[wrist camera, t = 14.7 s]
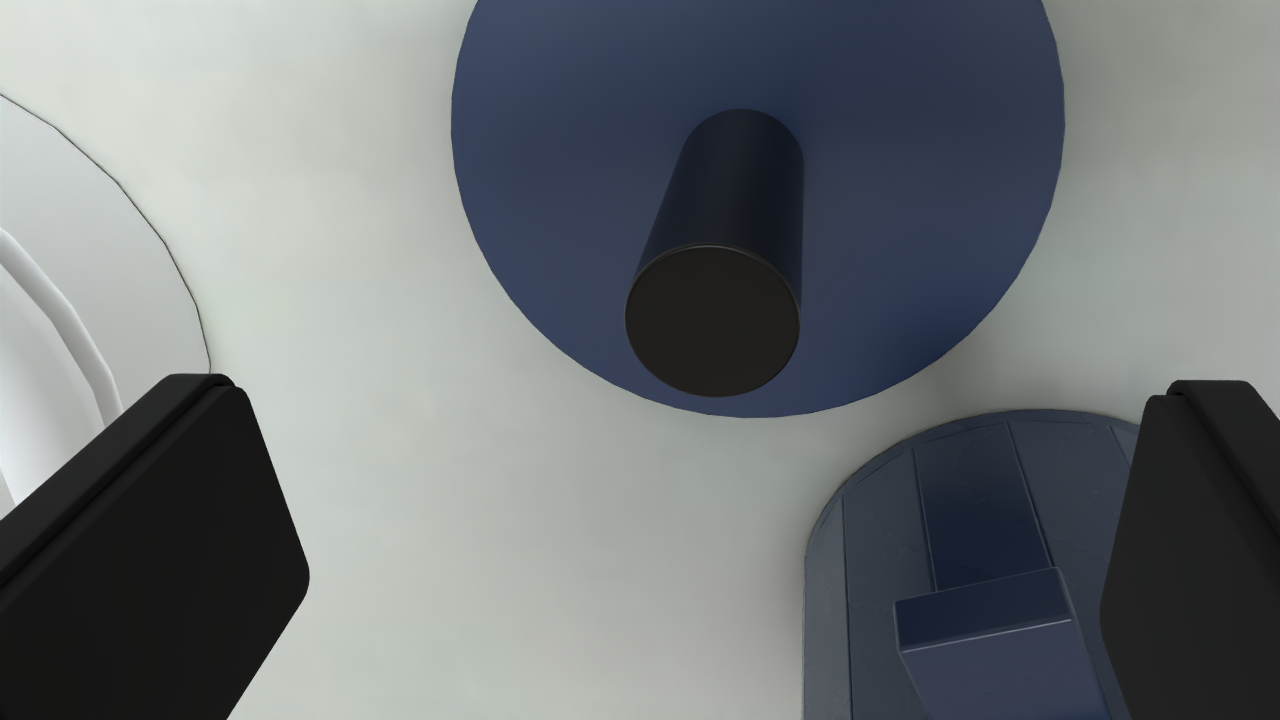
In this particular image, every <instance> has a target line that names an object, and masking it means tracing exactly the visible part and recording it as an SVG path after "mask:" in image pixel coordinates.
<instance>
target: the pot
mask: <svg viewBox="0 0 1280 720" xmlns="http://www.w3.org/2000/svg"><path fill="white" fill-rule="evenodd" d="M1139 430H1140V426H1137V425H1134V424H1131V423H1128V422H1124V421H1121V420H1118V419H1114V418H1109V417H1104V416H1099V415H1094V414H1089V413H1082V412H1071V411H1060V410H1018V411H1010V412H1001V413H993V414H985V415H981V416H976V417H972V418H967V419H963V420H958V421H954V422H951V423H948V424H945V425H942V426H939V427H936V428H933V429H930V430H927V431H925V432H923V433H920V434H918V435H916V436H914V437H912V438H910V439H907V440H905V441H903V442H901V443H899V444H897V445H895V446H894V447H892V448H890V449H889V450H887V451H886V452H884V453H882V454H881V455H879V456H877V457H876V458H874V459H873V460H872V461H870V462H869V463H868V464H867V465H865V466H864V467H863V468H861V469H860V470H859V471H858V472H856V473H855V474H854V475H853V476H852V477H851V478H850V479H849V480H848V481H847V482H846V483H845V484H844V485H843V486H842V487H841V488H840V489H839V490H838V491H837V493H836V494H835V495H834V497H833V498H832V499H831V501H830V502H829V504H828V505H827V506H826V508H825V509H824V510H823V512H822V514H821V516H820V518H819V520H818V522H817V524H816V526H815V528H814V529H813V532H812V535H811V538H810V541H809V544H808V548H807V551H806V556H805V566H804V592H803V629H802V713H801V720H1131V717H1130V714H1129V711H1128V708H1127V706H1126V703H1125V700H1124V697H1123V695H1122V692H1121V689H1120V686H1119V684H1118V681H1117V678H1116V675H1115V673H1114V670H1113V667H1112V664H1111V662H1110V659H1109V656H1108V653H1107V650H1106V648H1105V645H1104V642H1103V638H1102V634H1101V628H1100V618H1099V615H1100V602H1101V597H1102V593H1103V588H1104V584H1105V580H1106V575H1107V571H1108V566H1109V562H1110V558H1111V553H1112V549H1113V544H1114V540H1115V535H1116V531H1117V527H1118V522H1119V518H1120V513H1121V509H1122V505H1123V500H1124V496H1125V491H1126V487H1127V483H1128V478H1129V474H1130V469H1131V465H1132V460H1133V456H1134V452H1135V447H1136V443H1137V438H1138V434H1139Z"/></svg>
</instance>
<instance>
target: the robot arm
mask: <svg viewBox="0 0 1280 720" xmlns="http://www.w3.org/2000/svg"><path fill="white" fill-rule="evenodd" d="M309 579H310V575H309V567H308V563H307V560H306V557H305V554H304V551H303V549H302V546H301V543H300V540H299V537H298V535H297V532H296V529H295V526H294V523H293V521H292V518H291V515H290V512H289V509H288V507H287V504H286V501H285V498H284V495H283V492H282V490H281V487H280V484H279V481H278V478H277V476H276V473H275V470H274V467H273V464H272V462H271V459H270V456H269V453H268V450H267V448H266V445H265V442H264V439H263V436H262V433H261V431H260V428H259V425H258V422H257V419H256V417H255V414H254V411H253V408H252V405H251V403H250V400H249V398H248V396H247V394H246V392H245V391H244V390H243V389H242V388H239V387H236V386H235V384H234V382H233V381H232V380H231V379H230V378H229V377H228V376H225V375H223V374H196V373H177V374H170V375H168V376H166V377H165V378H163V379H162V380H160V381H159V382H158V383H157V384H156V385H155V386H154V387H152V388H151V389H150V390H149V391H148V392H147V393H146V394H144V395H143V396H142V397H141V398H140V399H139V400H138V401H136V402H135V403H134V404H133V405H132V406H131V407H130V408H128V409H127V410H126V411H125V412H124V413H123V414H122V415H120V416H119V417H118V418H117V419H116V420H115V421H114V422H112V423H111V424H110V425H109V426H108V427H107V428H106V429H104V430H103V431H102V432H101V433H100V434H99V435H98V436H96V437H95V438H94V439H93V440H92V441H91V442H90V443H88V444H87V445H86V446H85V447H84V448H83V449H82V450H80V451H79V452H78V453H77V454H76V455H75V456H74V457H72V458H71V459H70V460H69V461H68V462H67V463H66V464H64V465H63V466H62V467H61V468H60V469H59V470H58V471H56V472H55V473H54V474H53V475H52V476H51V477H50V478H48V479H47V480H46V481H45V482H44V483H43V484H42V485H40V486H39V487H38V488H37V489H36V490H35V491H34V492H32V493H31V494H30V495H29V496H28V497H27V498H26V499H24V500H23V501H22V502H21V503H20V504H19V505H18V506H16V507H15V508H14V509H13V510H12V511H11V512H10V513H8V514H7V515H6V516H5V517H4V518H3V519H2V520H0V720H227V718H228V717H229V715H230V713H231V712H232V710H233V709H234V707H235V706H236V704H237V702H238V701H239V699H240V698H241V696H242V695H243V693H244V692H245V690H246V688H247V687H248V685H249V684H250V682H251V681H252V679H253V677H254V676H255V674H256V673H257V671H258V670H259V668H260V667H261V665H262V663H263V662H264V660H265V659H266V657H267V656H268V654H269V652H270V651H271V649H272V648H273V646H274V645H275V643H276V642H277V640H278V638H279V637H280V635H281V634H282V632H283V631H284V629H285V627H286V626H287V624H288V623H289V621H290V620H291V618H292V617H293V615H294V613H295V612H296V610H297V609H298V607H299V606H300V604H301V603H302V601H303V599H304V597H305V595H306V593H307V589H308V586H309ZM1099 618H1100V628H1101V634H1102V638H1103V642H1104V645H1105V648H1106V650H1107V653H1108V656H1109V659H1110V662H1111V664H1112V667H1113V670H1114V673H1115V675H1116V678H1117V681H1118V684H1119V686H1120V689H1121V692H1122V695H1123V697H1124V700H1125V703H1126V706H1127V708H1128V711H1129V714H1130V717H1131V720H1280V420H1279V419H1278V418H1277V416H1276V415H1275V414H1274V413H1273V411H1272V410H1271V409H1270V408H1269V406H1268V405H1267V404H1266V402H1265V401H1264V400H1263V399H1262V397H1261V396H1260V395H1259V394H1258V392H1257V391H1256V390H1255V388H1254V387H1253V386H1251V385H1250V384H1249V383H1248V382H1246V381H1240V380H1177V381H1175V382H1173V383H1172V384H1171V386H1170V387H1169V389H1168V390H1167V393H1166V395H1153V396H1151V397H1150V398H1149V399H1148V401H1147V402H1146V405H1145V408H1144V412H1143V416H1142V421H1141V425H1140V430H1139V434H1138V438H1137V443H1136V447H1135V452H1134V456H1133V460H1132V465H1131V469H1130V474H1129V478H1128V483H1127V487H1126V491H1125V496H1124V500H1123V505H1122V509H1121V513H1120V518H1119V522H1118V527H1117V531H1116V535H1115V540H1114V544H1113V549H1112V553H1111V558H1110V562H1109V566H1108V571H1107V575H1106V580H1105V584H1104V588H1103V593H1102V597H1101V602H1100V615H1099Z"/></svg>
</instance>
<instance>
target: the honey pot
mask: <svg viewBox="0 0 1280 720" xmlns="http://www.w3.org/2000/svg"><path fill="white" fill-rule="evenodd" d="M209 365H210V362H209V358H208V354H207V350H206V346H205V342H204V338H203V334H202V329H201V325H200V321H199V317H198V313H197V309H196V305H195V303H194V301H193V299H192V297H191V295H190V293H189V291H188V290H187V288H186V286H185V284H184V282H183V280H182V278H181V276H180V274H179V272H178V270H177V268H176V266H175V264H174V262H173V260H172V258H171V256H170V254H169V252H168V250H167V248H166V246H165V245H164V243H163V242H162V240H161V239H160V238H159V237H158V235H157V234H156V233H155V232H154V230H153V229H152V228H151V226H150V225H149V224H148V223H147V221H146V220H145V219H144V218H143V216H142V215H141V214H140V213H139V211H138V210H137V209H136V207H135V206H134V205H133V204H132V202H131V201H130V200H129V199H128V197H127V196H126V195H125V193H124V192H123V191H122V190H121V188H120V187H119V186H118V185H117V183H116V182H115V181H114V180H112V179H111V178H110V177H109V176H108V175H107V174H106V173H104V172H103V171H102V170H101V169H100V168H99V167H98V166H97V165H95V164H94V163H93V162H92V161H91V160H90V159H89V158H88V157H86V156H85V155H84V154H83V153H82V152H81V151H80V150H79V149H77V148H76V147H75V146H74V145H73V144H72V143H71V142H69V141H68V140H67V139H66V138H65V137H64V136H63V135H62V134H60V133H59V132H58V131H57V130H56V129H55V128H53V127H52V126H50V125H49V124H47V123H45V122H44V121H42V120H40V119H39V118H37V117H35V116H34V115H32V114H30V113H29V112H27V111H25V110H24V109H22V108H20V107H19V106H17V105H15V104H14V103H12V102H11V101H9V100H7V99H6V98H4V97H2V96H1V95H0V520H2V519H3V518H4V517H5V516H6V515H7V514H8V513H10V512H11V511H12V510H13V509H14V508H15V507H16V506H18V505H19V504H20V503H21V502H22V501H23V500H24V499H26V498H27V497H28V496H29V495H30V494H31V493H32V492H34V491H35V490H36V489H37V488H38V487H39V486H40V485H42V484H43V483H44V482H45V481H46V480H47V479H48V478H50V477H51V476H52V475H53V474H54V473H55V472H56V471H58V470H59V469H60V468H61V467H62V466H63V465H64V464H66V463H67V462H68V461H69V460H70V459H71V458H72V457H74V456H75V455H76V454H77V453H78V452H79V451H80V450H82V449H83V448H84V447H85V446H86V445H87V444H88V443H90V442H91V441H92V440H93V439H94V438H95V437H96V436H98V435H99V434H100V433H101V432H102V431H103V430H104V429H106V428H107V427H108V426H109V425H110V424H111V423H112V422H114V421H115V420H116V419H117V418H118V417H119V416H120V415H122V414H123V413H124V412H125V411H126V410H127V409H128V408H130V407H131V406H132V405H133V404H134V403H135V402H136V401H138V400H139V399H140V398H141V397H142V396H143V395H144V394H146V393H147V392H148V391H149V390H150V389H151V388H152V387H154V386H155V385H156V384H157V383H158V382H159V381H160V380H162V379H163V378H165V377H166V376H168V375H170V374H177V373H196V374H209Z"/></svg>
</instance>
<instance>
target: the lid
mask: <svg viewBox="0 0 1280 720" xmlns="http://www.w3.org/2000/svg"><path fill="white" fill-rule="evenodd" d="M1064 132H1065V108H1064V83H1063V78H1062V72H1061V67H1060V62H1059V56H1058V51H1057V45H1056V41H1055V38H1054V35H1053V32H1052V29H1051V26H1050V23H1049V21H1048V18H1047V15H1046V12H1045V9H1044V6H1043V3H1042V0H478V1H477V3H476V5H475V8H474V10H473V12H472V14H471V16H470V19H469V21H468V25H467V28H466V32H465V35H464V38H463V42H462V45H461V49H460V52H459V55H458V59H457V66H456V72H455V79H454V85H453V92H452V108H451V140H452V149H453V158H454V168H455V174H456V178H457V182H458V186H459V191H460V195H461V199H462V203H463V207H464V210H465V213H466V215H467V218H468V221H469V223H470V226H471V229H472V232H473V234H474V237H475V240H476V242H477V244H478V245H479V247H480V249H481V251H482V253H483V255H484V257H485V259H486V261H487V263H488V265H489V267H490V269H491V271H492V272H493V274H494V275H495V277H496V278H497V280H498V281H499V283H500V284H501V286H502V287H503V288H504V290H505V291H506V293H507V294H508V296H509V297H510V299H511V300H512V301H513V302H514V304H515V305H516V306H517V307H518V308H519V309H520V311H521V312H522V313H523V314H524V315H525V316H526V318H527V319H528V320H529V321H530V322H531V323H532V325H533V326H535V327H536V328H537V329H538V330H539V331H540V332H541V333H542V334H543V335H544V336H545V337H546V338H548V339H549V340H550V341H551V342H552V343H553V344H554V345H555V346H556V347H557V348H558V349H560V350H561V351H563V352H564V353H565V354H567V355H568V356H569V357H571V358H572V359H573V360H575V361H576V362H577V363H579V364H580V365H582V366H583V367H584V368H586V369H588V370H589V371H591V372H593V373H595V374H596V375H598V376H600V377H601V378H603V379H605V380H607V381H608V382H610V383H612V384H614V385H616V386H618V387H620V388H623V389H625V390H627V391H629V392H632V393H634V394H636V395H638V396H641V397H643V398H646V399H649V400H652V401H655V402H658V403H661V404H665V405H668V406H671V407H674V408H678V409H683V410H688V411H693V412H698V413H702V414H707V415H717V416H727V417H738V418H770V417H784V416H792V415H800V414H808V413H813V412H818V411H822V410H826V409H830V408H835V407H839V406H843V405H846V404H849V403H852V402H855V401H857V400H860V399H863V398H866V397H869V396H871V395H874V394H877V393H879V392H881V391H883V390H885V389H887V388H889V387H891V386H893V385H896V384H898V383H900V382H902V381H904V380H906V379H908V378H910V377H911V376H913V375H914V374H916V373H918V372H919V371H921V370H922V369H924V368H925V367H927V366H928V365H930V364H932V363H933V362H935V361H936V360H938V359H939V358H941V357H942V356H943V355H944V354H946V353H947V352H948V351H949V350H950V349H952V348H953V347H954V346H955V345H957V344H958V343H959V342H960V341H961V340H963V339H964V338H965V337H966V336H968V335H969V334H970V333H971V331H972V330H973V329H974V328H975V327H976V326H977V325H978V324H979V323H980V322H981V321H982V320H983V319H984V318H985V317H986V316H987V315H988V314H989V313H990V312H991V311H992V310H993V309H994V307H995V306H996V305H997V303H998V302H999V301H1000V299H1001V298H1002V297H1003V295H1004V294H1005V293H1006V291H1007V290H1008V289H1009V287H1010V286H1011V285H1012V283H1013V282H1014V280H1015V279H1016V278H1017V276H1018V274H1019V273H1020V271H1021V269H1022V267H1023V266H1024V264H1025V262H1026V260H1027V258H1028V257H1029V255H1030V253H1031V251H1032V250H1033V248H1034V246H1035V244H1036V242H1037V240H1038V237H1039V235H1040V232H1041V230H1042V227H1043V225H1044V222H1045V220H1046V217H1047V215H1048V212H1049V210H1050V207H1051V204H1052V200H1053V196H1054V192H1055V188H1056V184H1057V180H1058V176H1059V172H1060V168H1061V160H1062V151H1063V142H1064Z"/></svg>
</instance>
